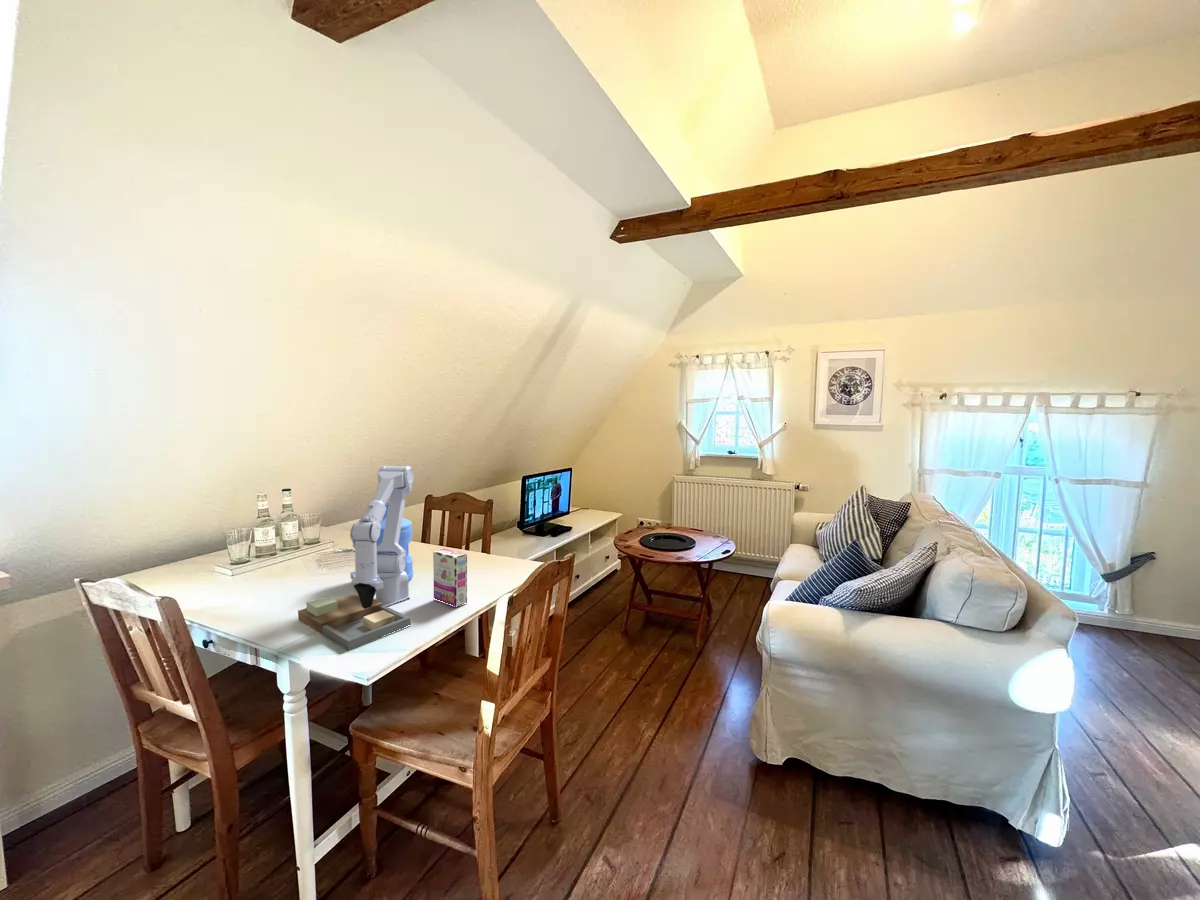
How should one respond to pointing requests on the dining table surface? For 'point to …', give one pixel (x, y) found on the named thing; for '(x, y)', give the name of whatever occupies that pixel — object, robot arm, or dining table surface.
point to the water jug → (400, 541)
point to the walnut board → (339, 613)
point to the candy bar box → (450, 577)
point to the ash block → (378, 619)
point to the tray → (364, 630)
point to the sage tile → (322, 606)
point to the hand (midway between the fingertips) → (367, 607)
